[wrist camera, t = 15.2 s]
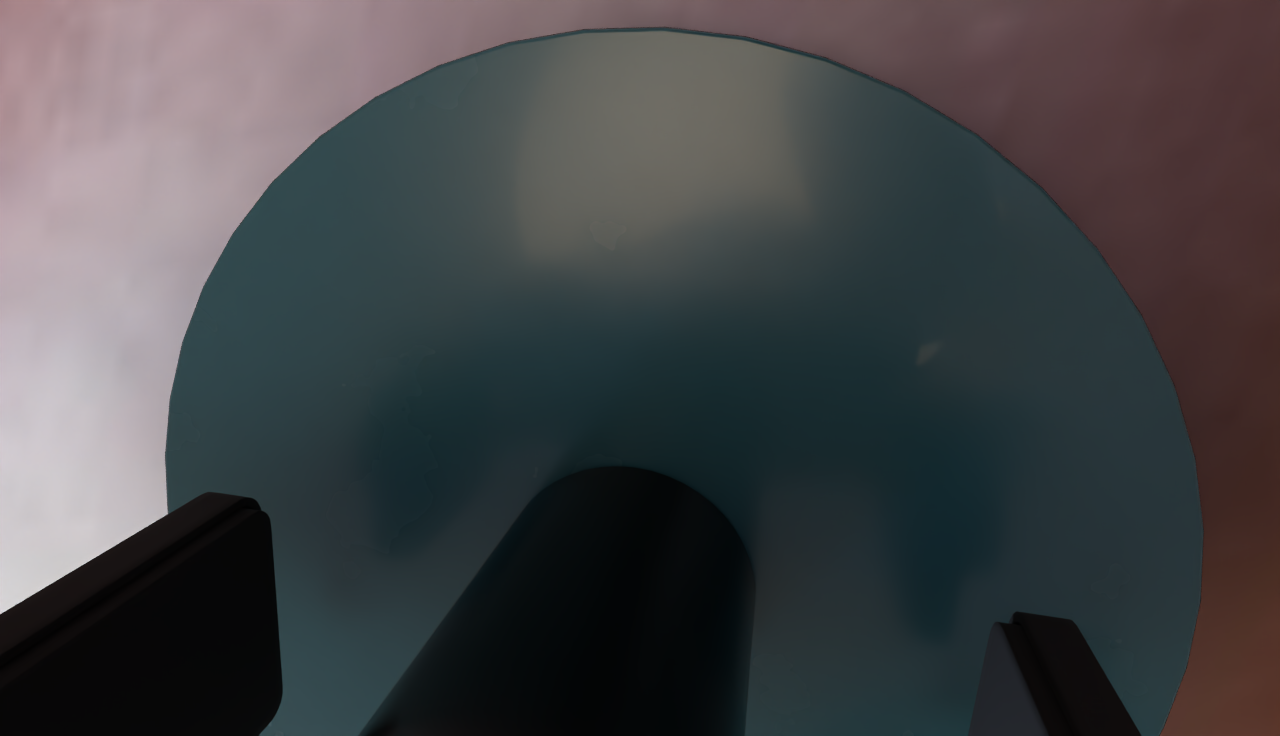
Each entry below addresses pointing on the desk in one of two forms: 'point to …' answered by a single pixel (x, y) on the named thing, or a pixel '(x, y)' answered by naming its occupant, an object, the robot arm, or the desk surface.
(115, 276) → the desk surface
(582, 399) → the pot lid
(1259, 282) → the desk surface
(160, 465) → the desk surface
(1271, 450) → the desk surface
